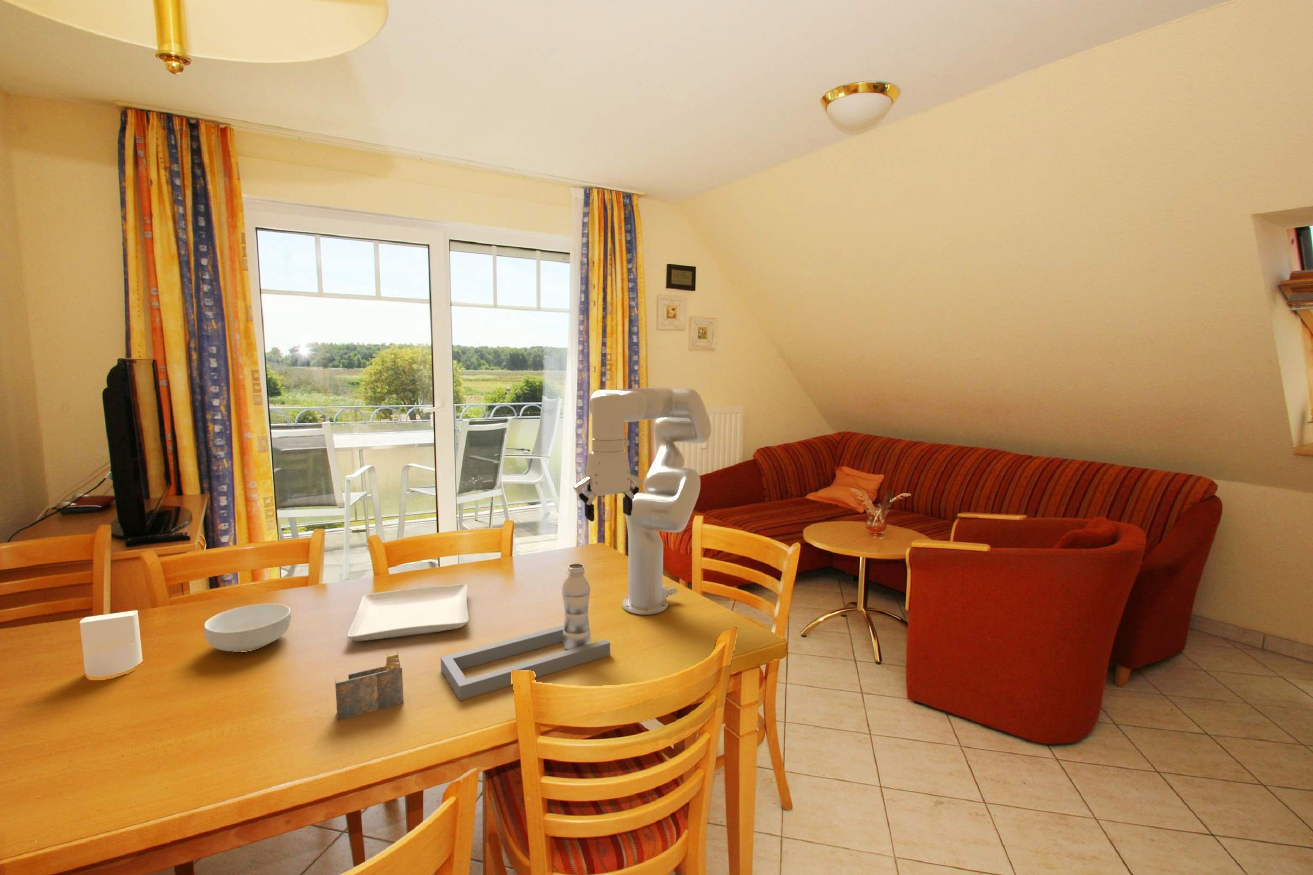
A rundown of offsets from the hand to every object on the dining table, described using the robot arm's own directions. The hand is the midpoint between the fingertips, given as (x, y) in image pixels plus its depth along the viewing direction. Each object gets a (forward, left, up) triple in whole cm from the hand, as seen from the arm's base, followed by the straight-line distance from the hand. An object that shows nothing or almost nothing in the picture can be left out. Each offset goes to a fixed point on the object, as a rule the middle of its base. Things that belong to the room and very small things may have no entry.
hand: (609, 517), depth 141 cm
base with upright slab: (+96, -44, -30) cm, 110 cm away
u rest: (+20, +1, -30) cm, 36 cm away
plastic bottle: (+9, +1, -30) cm, 32 cm away
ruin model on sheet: (+53, +1, -31) cm, 61 cm away
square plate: (+37, -37, -31) cm, 61 cm away
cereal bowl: (+72, -42, -30) cm, 89 cm away
